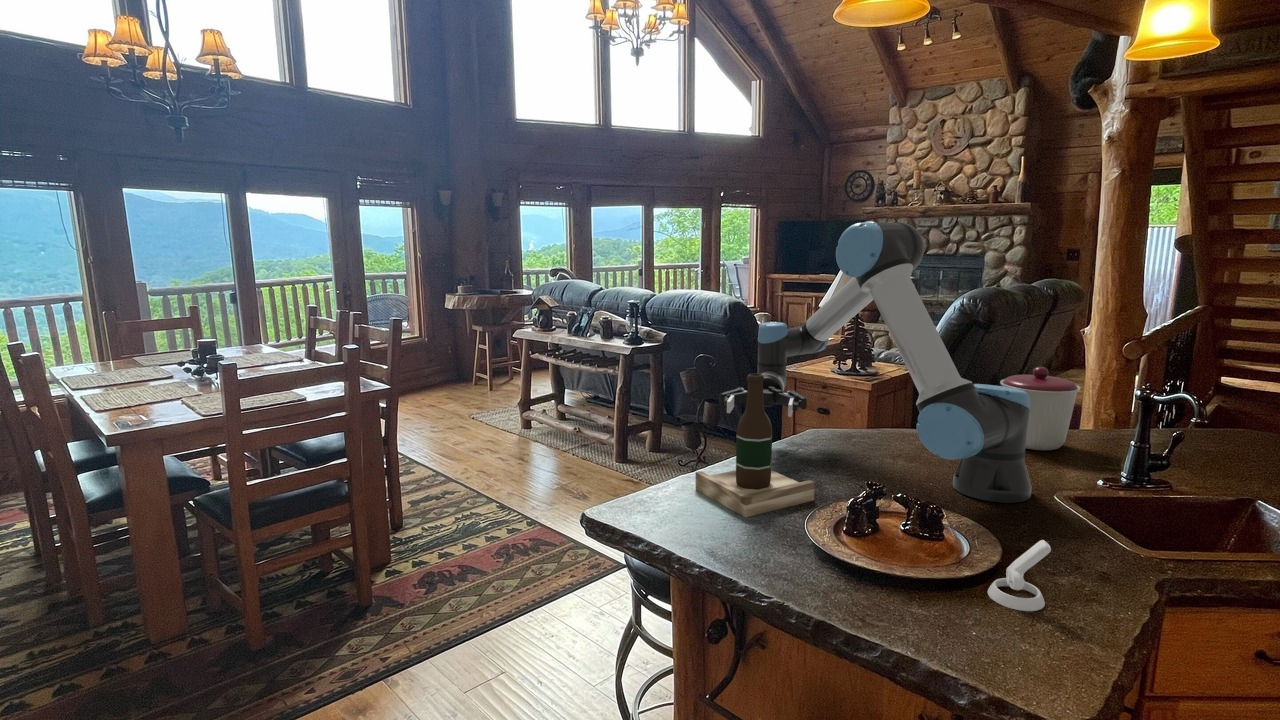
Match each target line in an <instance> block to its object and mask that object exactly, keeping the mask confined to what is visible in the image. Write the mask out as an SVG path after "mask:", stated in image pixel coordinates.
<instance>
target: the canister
mask: <svg viewBox="0 0 1280 720" xmlns="http://www.w3.org/2000/svg"><path fill="white" fill-rule="evenodd" d="M999 383H1000V386H1002V387H1009V388H1014V389H1019V390H1023V391H1025V392H1027V393H1028V395H1029V398H1030V401H1029V406H1030V410H1029V419H1028V428H1027V438H1026V449H1027V450H1031V451H1032V450H1033V451H1053V450H1054V451H1055V450H1059V449H1060V448H1061V447H1062V446H1063V445H1064V444H1065V442H1066V439H1067V436H1068V432H1069V429H1070V424H1071V420H1072V416H1073V411H1074V407H1075V403H1076V400H1077V394H1078V393H1079V392H1080V391H1081V389H1082V388H1081V386H1079V385H1078V384H1076V383H1075V382H1073V381H1071V380H1069V379H1066V378H1063V377H1058V376H1051V375H1049V370H1048V368H1047V367H1046V366H1045V367H1044V366H1035V368H1033V369H1032V374H1016V375H1015V374H1014V375H1010V376H1008V377H1006V378H1004V379H1001V380H1000V382H999ZM1026 449H1025V450H1026Z"/></svg>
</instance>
